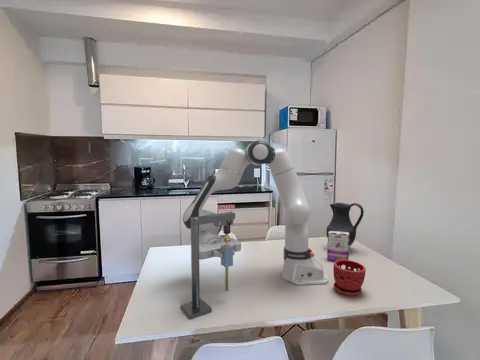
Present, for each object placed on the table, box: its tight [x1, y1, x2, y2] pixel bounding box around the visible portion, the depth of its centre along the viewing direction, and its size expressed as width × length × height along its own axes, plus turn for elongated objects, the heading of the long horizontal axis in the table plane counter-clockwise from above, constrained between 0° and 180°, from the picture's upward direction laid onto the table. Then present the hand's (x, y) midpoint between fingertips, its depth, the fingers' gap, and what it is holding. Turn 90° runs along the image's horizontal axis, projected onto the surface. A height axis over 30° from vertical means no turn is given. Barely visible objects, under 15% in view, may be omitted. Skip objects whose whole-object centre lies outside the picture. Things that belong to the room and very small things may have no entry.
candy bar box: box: [326, 231, 350, 263], centre depth 164 cm, size 11×5×16 cm, turn 68°
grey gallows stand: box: [179, 211, 236, 320], centre depth 116 cm, size 22×9×36 cm, turn 124°
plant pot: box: [332, 260, 367, 296], centre depth 130 cm, size 13×13×12 cm
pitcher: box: [326, 202, 364, 248], centre depth 179 cm, size 17×21×30 cm
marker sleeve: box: [220, 244, 234, 268], centre depth 120 cm, size 4×4×8 cm
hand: (228, 254), depth 119 cm, fingers closed on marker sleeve, 4 cm apart
